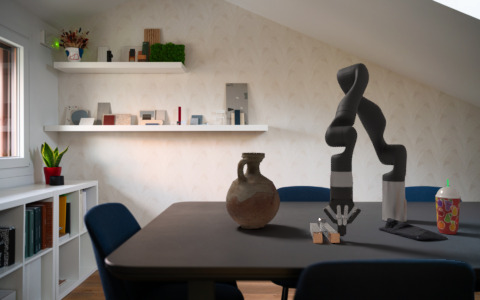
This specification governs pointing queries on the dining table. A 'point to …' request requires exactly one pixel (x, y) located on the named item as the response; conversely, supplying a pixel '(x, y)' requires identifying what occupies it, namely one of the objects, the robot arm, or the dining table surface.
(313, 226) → the base
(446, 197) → the smoothie
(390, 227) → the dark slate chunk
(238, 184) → the jug
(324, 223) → the tong arm
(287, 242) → the dining table surface
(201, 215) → the dining table surface
